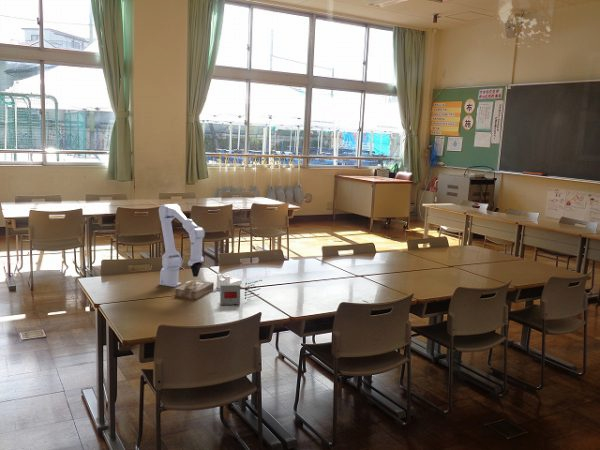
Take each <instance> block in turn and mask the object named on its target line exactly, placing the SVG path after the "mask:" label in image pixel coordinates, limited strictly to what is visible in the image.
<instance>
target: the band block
mask: <svg viewBox="0 0 600 450" xmlns="http://www.w3.org/2000/svg"><path fill="white" fill-rule="evenodd" d="M190 281H194V282H202V283H204V284H202V285H199V284H196V288H195V289H193V290H192V289H186V288H185V285H186V283H183V284H181V285H180V286H177V287H176V288H175V289H174V290H175V291H174V293H175V294H174V295H175V297H178V298H185V299H189V300H199V299H200V298H202V297H203V296H205V295H207V294H208V293H210V292H212V291H214V286H215V285H214V282H212V281H206V280H205V281H204V280H199V279H192V280H190Z"/></svg>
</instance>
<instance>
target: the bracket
mask: <svg viewBox="0 0 600 450" xmlns="http://www.w3.org/2000/svg"><path fill="white" fill-rule="evenodd" d="M242 281H243V280H242V279H240V278H236V277H231V275H227V276H225V278H223V275H222V273H218V274H216V288H217V289H220V285H240V286H241V285H242V284H243V283H242Z"/></svg>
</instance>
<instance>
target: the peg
mask: <svg viewBox="0 0 600 450" xmlns="http://www.w3.org/2000/svg"><path fill="white" fill-rule="evenodd" d="M185 284H186V285H185V288H186V289H192V290H193V289H195V288H196V282H194V281H191V280H188V281H185Z"/></svg>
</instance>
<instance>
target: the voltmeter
mask: <svg viewBox="0 0 600 450" xmlns="http://www.w3.org/2000/svg"><path fill="white" fill-rule="evenodd" d="M262 281H263V279H259V280H255V281H252V282H245V289H244V290H245V291H244V296H245V297H244V300H246V299H247V301H249V299H250V298H252V297H255V296H256V297H257V296H259V295H260V293H257V294H255V293H254V292H255V291H259V290H260V288H257V286H255V284H256V283H258V282H262ZM252 289H253V290H252ZM247 290H249V291H247ZM247 293H248V294H247ZM250 295H252V296H250ZM219 299H220V300H219V303H220V304H219V305H220V306H222V305H223V306H229V305H231V306H232V305H234V304H237V305H241V285H220V288H219Z"/></svg>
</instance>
